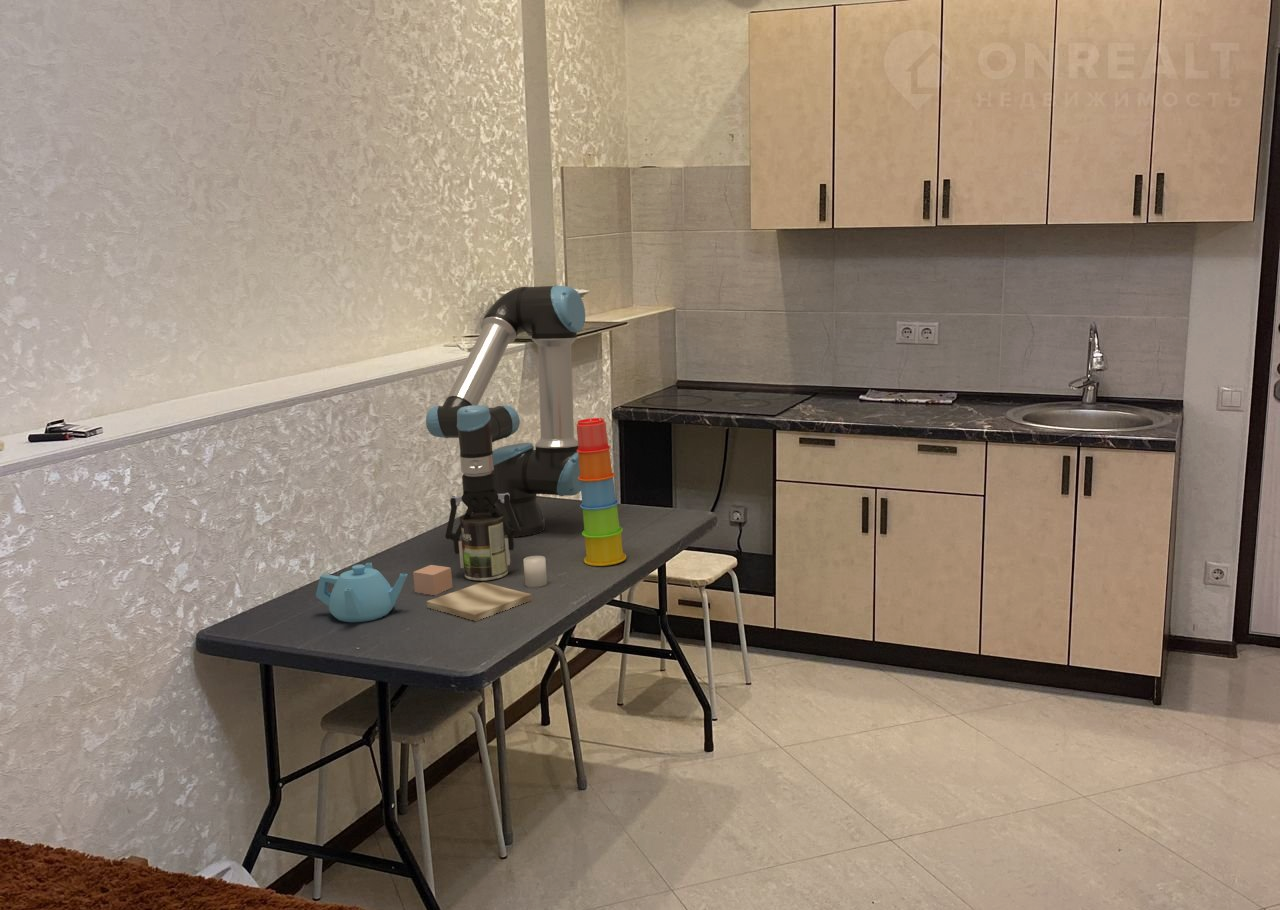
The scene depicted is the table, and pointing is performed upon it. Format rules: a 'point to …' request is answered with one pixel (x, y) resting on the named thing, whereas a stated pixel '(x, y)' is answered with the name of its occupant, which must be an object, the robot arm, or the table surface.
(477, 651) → the table surface
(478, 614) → the birch board
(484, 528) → the coffee can
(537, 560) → the off-white cylinder
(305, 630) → the table surface
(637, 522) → the table surface
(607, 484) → the stacking cups
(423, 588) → the terracotta block
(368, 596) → the teapot
